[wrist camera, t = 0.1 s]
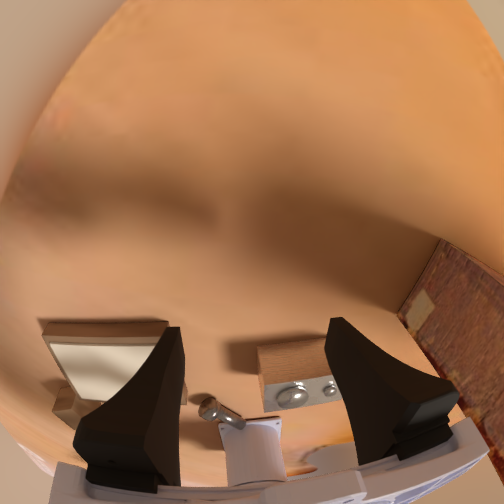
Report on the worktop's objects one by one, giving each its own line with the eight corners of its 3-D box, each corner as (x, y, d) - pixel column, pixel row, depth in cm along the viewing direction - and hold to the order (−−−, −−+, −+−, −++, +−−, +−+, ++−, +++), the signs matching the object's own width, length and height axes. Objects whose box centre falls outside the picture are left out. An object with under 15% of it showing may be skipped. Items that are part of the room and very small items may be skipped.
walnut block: (101, 402, 30) (94, 427, 26) (81, 406, 30) (74, 429, 27) (80, 383, 28) (71, 408, 24) (60, 387, 28) (51, 411, 25)
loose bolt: (248, 415, 32) (251, 431, 30) (232, 423, 33) (234, 439, 30) (214, 394, 30) (216, 411, 28) (198, 403, 30) (198, 421, 28)
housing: (327, 364, 30) (342, 403, 25) (257, 374, 29) (265, 416, 24) (333, 335, 28) (352, 375, 23) (256, 345, 27) (265, 389, 22)
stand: (187, 390, 29) (186, 407, 27) (83, 387, 28) (78, 401, 26) (168, 321, 25) (165, 338, 23) (48, 322, 24) (40, 337, 22)
